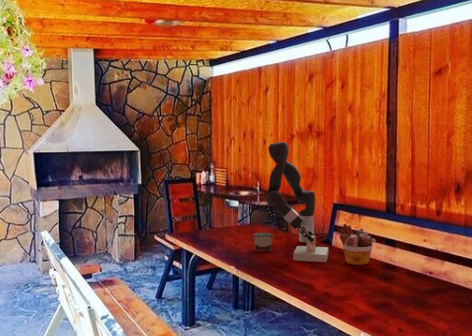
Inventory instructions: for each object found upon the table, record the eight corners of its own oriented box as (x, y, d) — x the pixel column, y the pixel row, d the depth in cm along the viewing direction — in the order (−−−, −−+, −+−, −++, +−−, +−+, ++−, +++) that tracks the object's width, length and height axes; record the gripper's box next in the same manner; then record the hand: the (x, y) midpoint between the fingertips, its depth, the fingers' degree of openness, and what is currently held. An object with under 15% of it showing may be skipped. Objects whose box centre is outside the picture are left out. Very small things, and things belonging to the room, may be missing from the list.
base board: (297, 252, 283) (297, 245, 283) (328, 254, 278) (328, 247, 278) (293, 260, 265) (293, 253, 265) (326, 262, 261) (326, 254, 261)
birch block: (307, 249, 274) (307, 235, 274) (315, 249, 273) (315, 235, 273) (306, 250, 270) (306, 236, 269) (314, 251, 269) (314, 237, 268)
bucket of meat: (381, 264, 256) (381, 227, 255) (359, 269, 247) (359, 231, 246) (353, 256, 273) (353, 221, 272) (332, 260, 264) (332, 225, 263)
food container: (273, 248, 293) (273, 232, 293) (273, 250, 287) (273, 234, 287) (253, 248, 295) (253, 232, 294) (253, 250, 289) (252, 234, 288)
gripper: (296, 216, 265) (317, 237, 263) (299, 212, 279) (319, 232, 277) (286, 225, 267) (307, 246, 265) (290, 221, 281) (310, 241, 279)
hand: (313, 239), depth 271 cm, fingers open, 8 cm apart
